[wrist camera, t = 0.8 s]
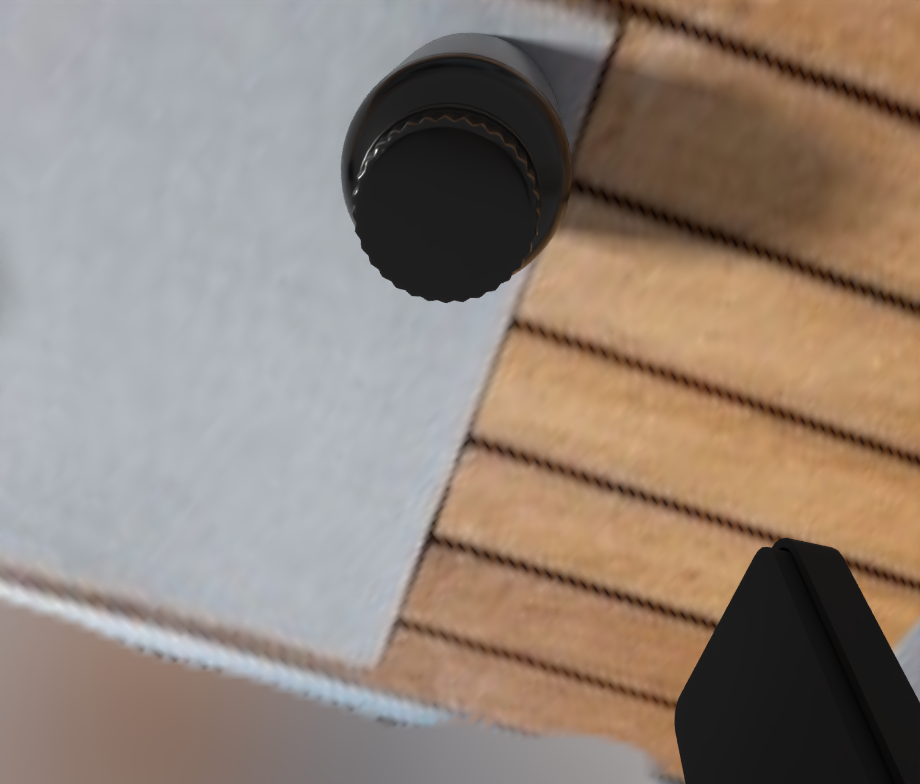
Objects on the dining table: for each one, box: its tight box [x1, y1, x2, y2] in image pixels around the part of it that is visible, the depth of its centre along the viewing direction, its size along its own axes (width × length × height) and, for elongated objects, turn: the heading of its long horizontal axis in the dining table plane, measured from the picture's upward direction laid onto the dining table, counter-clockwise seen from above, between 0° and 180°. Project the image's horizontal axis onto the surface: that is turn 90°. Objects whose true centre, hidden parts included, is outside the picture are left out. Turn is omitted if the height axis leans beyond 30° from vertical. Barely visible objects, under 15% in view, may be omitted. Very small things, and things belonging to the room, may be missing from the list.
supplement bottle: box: [341, 33, 571, 303], centre depth 25 cm, size 7×7×12 cm
